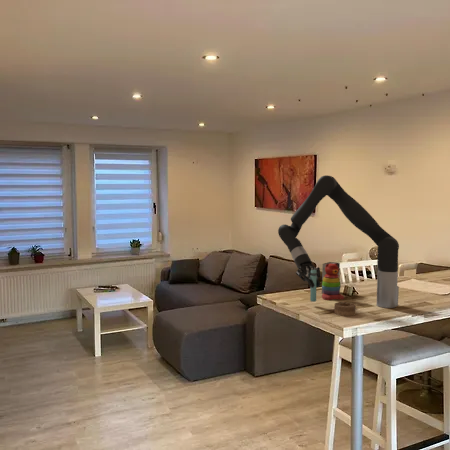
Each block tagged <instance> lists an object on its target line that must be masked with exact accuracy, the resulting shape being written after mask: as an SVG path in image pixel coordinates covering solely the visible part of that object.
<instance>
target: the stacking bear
mask: <svg viewBox="0 0 450 450" xmlns="http://www.w3.org/2000/svg"><path fill="white" fill-rule="evenodd" d="M325 272H326V275H325V276H324V278H323V282H322V281H321V290H322V289H323V293H321V294H322V295H321V298H322V299H323V300H324V301H325V300H326V301H332V300H339V301H340V300H341V301H342V300H344V299H345V297H344V295H343V294H342V293H340V292H341V285H342V284H341V280H340V279H341V278H340V275H339V276H338V275H337V274H338V272H339V268H338V266H337V264H336V263H335V264H326V267H325ZM339 273H340V272H339Z"/></svg>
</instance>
